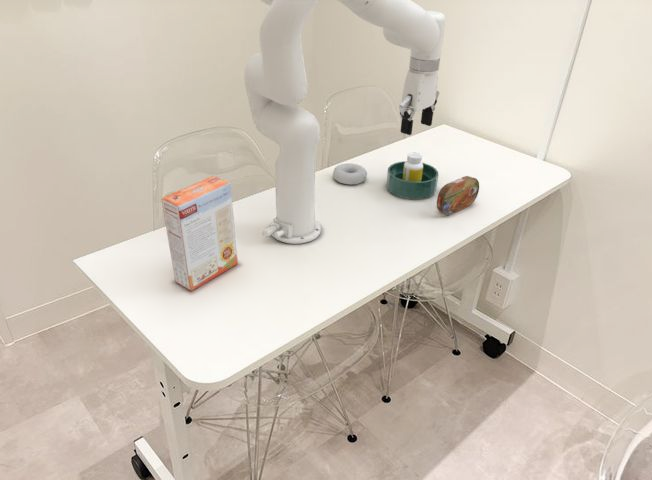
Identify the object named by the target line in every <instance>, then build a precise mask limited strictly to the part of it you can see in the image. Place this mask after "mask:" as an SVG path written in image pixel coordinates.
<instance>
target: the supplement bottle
mask: <svg viewBox="0 0 652 480" xmlns="http://www.w3.org/2000/svg"><path fill="white" fill-rule="evenodd" d="M406 157H407V158H406V160H405V161H406V162H405V163H404V169H403V179H402V180H405V181H411V182H421V180H422V172H423V163H424V162H422V160H423V155H422V154H421V153H418V152H410V153H408V154H407V156H406Z"/></svg>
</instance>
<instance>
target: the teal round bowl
mask: <svg viewBox="0 0 652 480" xmlns="http://www.w3.org/2000/svg"><path fill="white" fill-rule="evenodd" d="M406 161H407V160H404V161H398V162H394V163H392V164H390V165H389V166H388V168H387V173H386V174H387V175H386V189H387V191H388V192H390V193H391V194H392V195H395V196H398V197H401V198H405V199H413V200H416V199H417V200H418V199H425V198H429V197H432V196H433V195H435V193H436V192H437V188H438V180H439V171H438V170H437V168H435V167H434V166H433V165H430V164H427V163H425V162H422V163H423V172H422V180H421V182H411V181H405V180H402V179H403V169H404V163H405V162H406Z"/></svg>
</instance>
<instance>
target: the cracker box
mask: <svg viewBox="0 0 652 480" xmlns="http://www.w3.org/2000/svg"><path fill="white" fill-rule="evenodd" d="M161 206H162V212H163V217H164V223H165V229H166V235H167V240H168V247H169V253H170V257H171V259H170V260H171V264H172V265H171V266H172V270H173V276H174V281H175V283H177V284H178V285H181V287H183V288H185V289H187V290H189V291H190V292H193V291H194V290H197V289H198V288H199V287H201V286H203V285H204V284H206V283H208V282H210V281H211V280H213V279H214V278H216V277H218V276H220V275H221V274H223V273H225V272H226V271H228V270H230V269H231V268H233V267H236V266H237V265H238V254H237V253H238V251H237V240H236V231H235V219H234V217H235V216H234V209H233V196H232V185H231V182H230V181H227V180H224V179H222V178H219V177H217V176H215V175H212V176H209V177H207V178H204V179H202V180H200V181H198V182H196V183H193V184H191V185H189V186H186V187H184V188H182V189H179V190H177V191H175V192H172V193H170V194H168V195H166V196H163V197H162V198H161Z"/></svg>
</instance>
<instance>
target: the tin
mask: <svg viewBox="0 0 652 480" xmlns="http://www.w3.org/2000/svg"><path fill="white" fill-rule="evenodd" d="M479 191H480V182H479V180H478V178H475V177H472V176H469V175H464V176H462V177H459V178H457V179H455V180H453V181H450V182H447V183H446V184H444V185H443V186H442V187H441V188H440V190H439V191H438V194H437V198H436V209H437V211H439V212H440V213H442V214H444V215H446V216H452V215H454V214H456V213H458V212H460V211H462V210H465V209H466V208H468V207H470V206H472V205H473V204H474V203H475V201H476V199H477V198H478V195H479Z"/></svg>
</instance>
